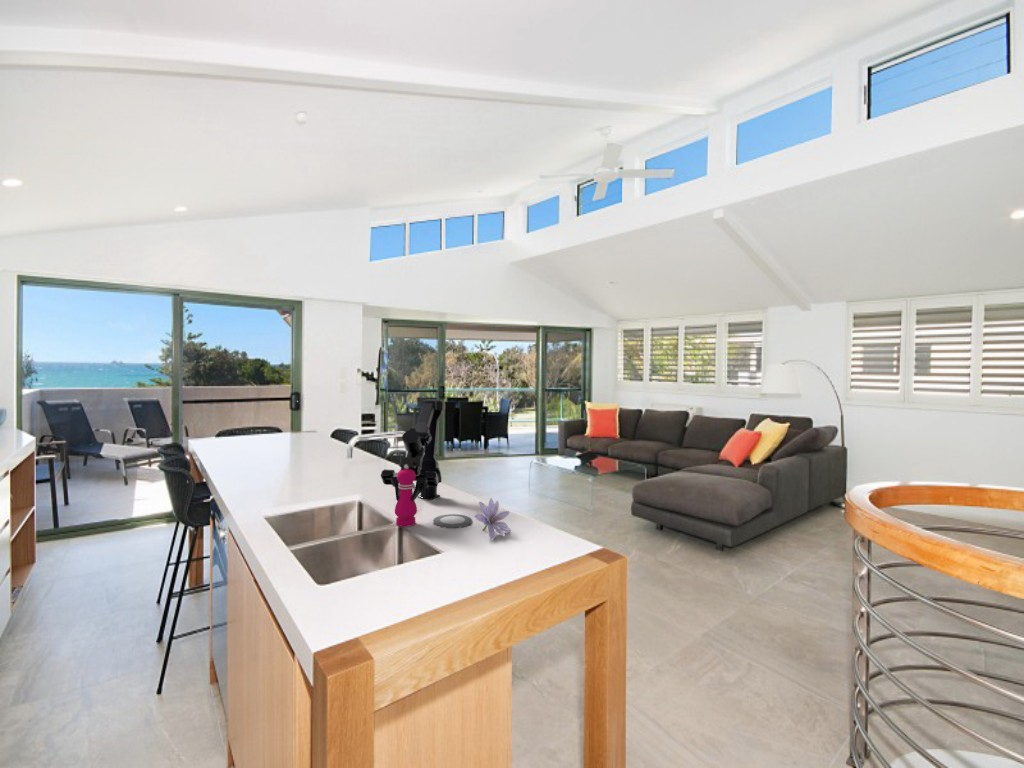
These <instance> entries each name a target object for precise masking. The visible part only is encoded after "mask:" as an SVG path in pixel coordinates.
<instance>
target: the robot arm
mask: <svg viewBox="0 0 1024 768" xmlns="http://www.w3.org/2000/svg"><path fill="white" fill-rule="evenodd" d="M421 406H422V407H421V411H420V413H419V416H418V420H417V423H416V424H414V425H412V427H410V428H409V430H407V431H405V432H404V433H403V434H402V436H401V439H402V442H403V445H404V449H405V451H407V453H406V456H401V457H400V459H399V460H400V461H399V468H400V470H401V469H404V465H405V464H407V465H408V466H409V469H412V470H413V471H414V472H415V476H416V477H415V480H414V481H413V482H415V486H414V488H413V489H414V490H413V491H412V494H413V496H412V501H415V500H416V499H417V498H418V496H421V497H423V498H422V499H425V500H434V499H437V498H440V497H441V495H440V494H438V492H437V491H438V486H439V483H442V473H441V469H440V467H439V466H440V464H439V461H438V460H437V458H436V455H437V454H436V453H437V442H438V433H439V432H438V431H439V422H440V421H441V420H442V418H443V416H444V413H445V410H446V403H445V402H444V401H443V400H442V399H429V398H428V399H427V398H426V399H423V400H422V405H421ZM397 474H398V472H395V470H394V469H383V470H382V471H381V473H380V478H381V480H382V483H383V484H384V485H387V486H388V485H389V486H392V487H394V489H395V491H394V492H395V500H396V501H398V499H399V495H400V488H398V487H399V485H398V484H399V481H398V480H397Z"/></svg>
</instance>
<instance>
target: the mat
mask: <svg viewBox="0 0 1024 768" xmlns="http://www.w3.org/2000/svg"><path fill="white" fill-rule="evenodd" d="M432 521H433V523H432V524H434V525H435V526H436V525H437V526H436V527H439V526H440V527H439V528H443V527H446V528H445V529H459V527H461V528H465V527H468V526H470V525H471V524H472V523H471V522H473V519H472V517H470V516H467V515H465V514H464V515H463V514H457V513H455V514H454V513H452V514H442V515H438V516H436V517H434V518H433V519H432ZM469 524H470V525H469ZM467 525H468V526H467ZM464 526H465V527H464Z"/></svg>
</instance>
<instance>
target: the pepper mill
mask: <svg viewBox="0 0 1024 768" xmlns="http://www.w3.org/2000/svg"><path fill="white" fill-rule="evenodd" d="M397 473H398V474H397V480H398V481H399V484H398V485H399V487H398V488H400V495H399V499H398V501H397V500H396V501H397V502H396V504H395V506H394V507H395V508H394V514H395V516H396V519H395V524H396V526H399V527H405V528H407V527H411V526H414V525H415V524H416V517H415V515H416V514H417V513H418V507H417V504H416V502H415V500H414V501H412V496H413V491H414V490H413V489H414V488H415V486H414V485H415V483H414V482H415V481H414V480H415V477H416V476H415V472H414V471H413V470H412V469H409V466H408V465H407V464H405V465H404V469H401V468H400V470H399V471H398V472H397Z"/></svg>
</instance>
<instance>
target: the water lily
mask: <svg viewBox="0 0 1024 768" xmlns="http://www.w3.org/2000/svg"><path fill="white" fill-rule="evenodd" d="M478 504H479V507H480V510H481V512H482V513H481V514H480V513H476V514H474V516H473V517H474V518H475V519H476V520H477V521H478V522H481V523H483V525H484V526H483V528H482V532H484V531H485V530H486V529H487V533H488V537H489V539H490V540H491V539H494V540H495V539H496V532H497V533H498V534H499V535H501V536H502V537H505V532H506V533H509V532H511V531H512V529H511V528H510V527H509V525H508V523H507V522H504V521H502V520H504V519H506V518H507V517H508V516H509V514H510V511H509V510H503V511H500V512H499V513H498V510H499V507H500V504H499V501H498V500H496V501H495V502H494V500H493V498H492V497H491V498H490V499H489V501H488V505H487V506H486V505H485V504H484V503H483V502H482V501H478ZM511 533H512V532H511Z"/></svg>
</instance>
